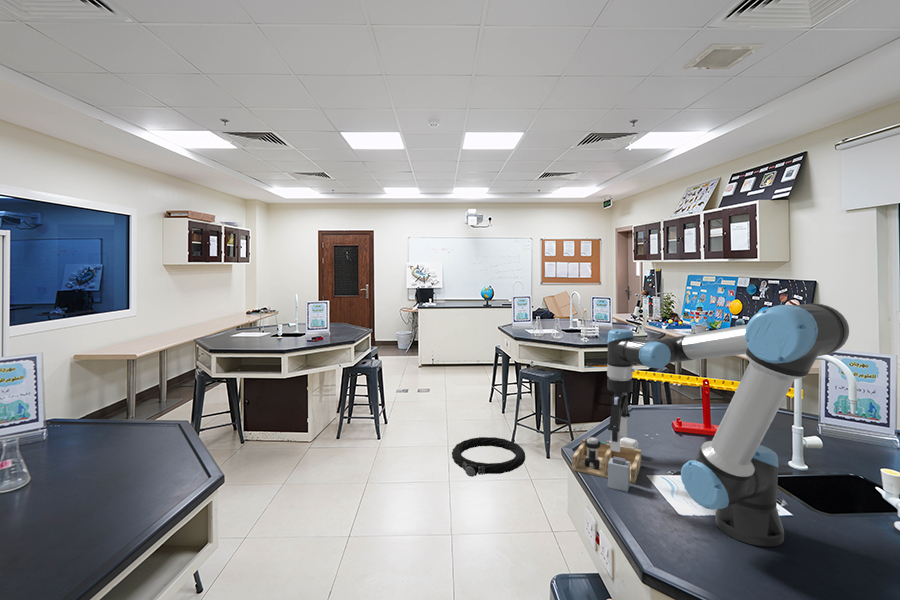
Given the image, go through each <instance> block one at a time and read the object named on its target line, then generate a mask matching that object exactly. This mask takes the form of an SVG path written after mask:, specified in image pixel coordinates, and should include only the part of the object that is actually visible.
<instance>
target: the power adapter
mask: <svg viewBox="0 0 900 600" xmlns="http://www.w3.org/2000/svg"><path fill="white" fill-rule="evenodd" d="M606 443H608V444H610V439H609V440H608V439H607V440H606ZM620 445H623V446H628V447H634V448H635V449H639V441H638V440H637V439H634V438H630V437H628V436H627V437H623V436H622V437H620Z"/></svg>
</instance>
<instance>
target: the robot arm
mask: <svg viewBox="0 0 900 600" xmlns="http://www.w3.org/2000/svg"><path fill="white" fill-rule="evenodd" d="M607 334H608V335H607V343H606V344H607V363H606V364H607V367H606V369H607V370H606V375H607V381H606V382H607V383H606V384H607V385H606V386H607V391H610V392H613V393H614V394H613V395H612V396H611V407H610V417H609V426H608V427H607V430H608V431H610V436H609V437H610V438H609V441H610V443H609V444H610V450H611V451H616V452H620V439H621V437H622V438H623V437H627V438H628V418H630V417H631V413H629V404H628V403H629V402H628V400H629V399H628V393H631V392H632V391H633V389H634V387H633V384H634V383H633V382H634V381H633V379H632V378H633V373H635V372H636V370H635V368H633V367H634V366H633V365H634V364H636V365H639V366H644V367H647V368H650V369H652V368H653V369H663V368H665V367H666V366H667V365H668V364H670V363H671V364H672V363H679V362H680V363H681V362H687V361H694V360H705V359H713V358H722V357H731V356H732V357H733V356H741V355H745V357H747V361H748V362H749V363H748V365H747V367H746V369H745V371H744V373H743V375H742V377H741V379H740V381H739V384H738V386H737V388H736V390H735V392H734V394H733V396H732V398H731V400H730V403H729V404H728V406H727V409H726V411H725V413H724V414H723V415H724V416H723V417H722V419H721V421H720V424H719V425H718V428H717V429H716V432H715V434H714V436H713V438H712V439H711V440H708V441H705V442H703V443H702V445H701V447H700V449H699V451H698V453H697V455H696V457H695V458H694V459H691V460H688V461H686V462H685V463H684V464H683V465H682V466H681V470H680V477H681V483H682V485H683V487H684V490H685V491H686V493H687V494H688V496H689V497H690V498H691V499H692V500H693V502H695V503H696V504H698V505H699V506H701V507H702V508H704V509H707V510H714V511H715V510H716V511H715V512H714V513H715V515H714V519H715V520H714V521H715V524H716V526H717V527H718V529H719V530H720V531H722V532H723V533H724V534H726V535H727V536H730V537H731V538H732V539H735V540H737V541H740V542H743V543H745V544H749V545H753V546H758V547H767V548H770V547H778V546H781V544H783V543H784V541H785V530H784V529H785V528H784V527H783V526H784V525H783V524H782V520H781V517H780V515H779V512H778V509H777V502H778V501H777V500H778V482H779V481H778V479H779V478H778V477H779V467H780V465H779V456H778V454H777V453H776V452H775V451H773V449H771V448H768V447H767V446H764V445H762V444H761V443H762V442H763V440H764V437H765V436H766V433H767V431H768V430H769V428H770V426H771V424H772V422H773V420H774V419H775V416H776V415H777V412H778V411H779V409H780V407H781V405H782V403H783V402H784V399H785V397H786V396H787V394H788V393H789V390H790V388H791V387H792V385H793V383H794V381H795V380H799V379H804V378H806V377H807V376H808V374H809V373H810V371H811V369H812V367H813V365H814V363H815V361H816V359H817V358H818V357H822V356H826V355H827V356H828V355H830V354H833V353H836V352H837V351H838V350H840V349H841V348H842V347H843V346H844V345H846V342H847V341H848V339H849V335H850V325H849V323H848V321H847V319H846V318H845V316H844V315H843V314H842V313H841V312H839V310H837V309H835V308H833V307H831V306H829V305H827V304H823V303H805V304H794V305H793V304H779V305H774V306H772V307H768V308H765V309H762V310H760V311H758V312H757V313H755V314H754V315H753V316H752V317H751V318H750V319H749V320H748V322H747V324H743V325H737V326H732V327H731V326H730V327H726V328H720V329H713V330H709V331H708V330H707V331H702V332H698V333H691V334H686V335H678V336H674V337H666V338H664V337H663V338H655V339H642V338H641V339H640V338H636V337H635V336H634V332H633V330H631V329H625V328H622V329H621V328H615V329H614V328H613V329H611V330H609V331H608V333H607Z"/></svg>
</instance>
